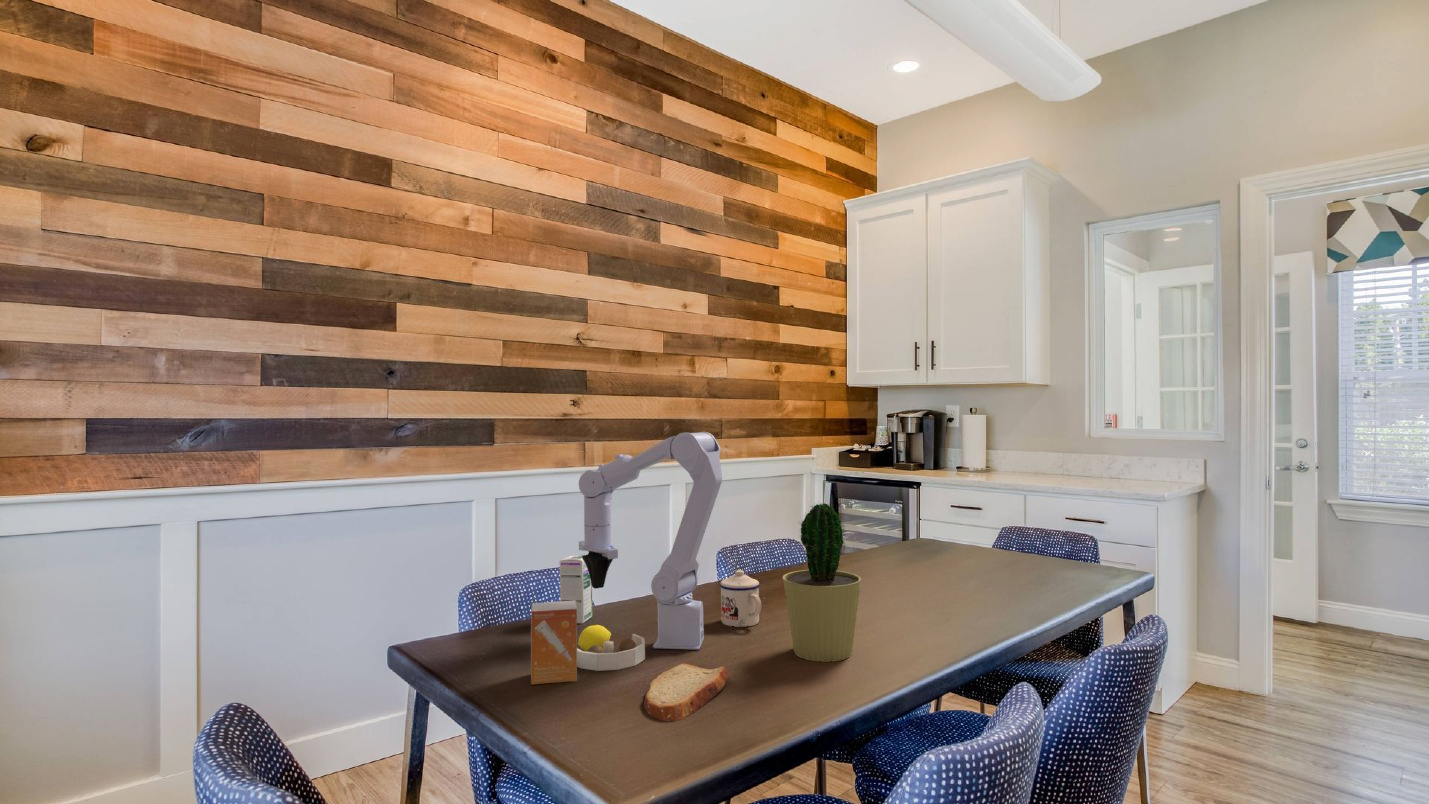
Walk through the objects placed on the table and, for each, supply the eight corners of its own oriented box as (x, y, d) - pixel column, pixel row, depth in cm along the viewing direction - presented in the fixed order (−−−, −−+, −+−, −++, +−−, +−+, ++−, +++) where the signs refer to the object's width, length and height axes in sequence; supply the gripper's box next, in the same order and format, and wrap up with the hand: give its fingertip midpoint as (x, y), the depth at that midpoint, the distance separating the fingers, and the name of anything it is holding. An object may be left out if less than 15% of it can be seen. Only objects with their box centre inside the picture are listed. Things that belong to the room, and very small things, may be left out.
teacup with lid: (712, 621, 169) (711, 570, 169) (744, 614, 174) (743, 565, 174) (743, 633, 159) (742, 579, 159) (776, 626, 164) (775, 573, 164)
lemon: (585, 661, 143) (581, 634, 143) (575, 653, 148) (571, 627, 148) (617, 650, 147) (614, 623, 147) (607, 643, 151) (603, 617, 151)
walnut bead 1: (606, 660, 142) (606, 643, 142) (601, 666, 138) (601, 648, 138) (589, 660, 142) (589, 642, 142) (584, 666, 139) (584, 648, 139)
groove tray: (657, 651, 147) (657, 636, 147) (621, 674, 134) (621, 657, 134) (605, 644, 152) (605, 630, 152) (565, 666, 139) (565, 650, 139)
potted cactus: (815, 636, 156) (813, 494, 157) (877, 651, 145) (875, 499, 146) (767, 652, 146) (765, 500, 146) (830, 671, 135) (828, 507, 135)
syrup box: (583, 623, 167) (583, 559, 168) (559, 622, 169) (559, 559, 169) (592, 617, 173) (592, 555, 173) (569, 616, 174) (568, 554, 174)
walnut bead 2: (637, 653, 146) (637, 636, 146) (634, 659, 142) (633, 641, 142) (621, 653, 146) (620, 635, 146) (616, 658, 143) (616, 641, 143)
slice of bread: (659, 726, 112) (658, 702, 112) (621, 688, 128) (621, 666, 128) (762, 706, 120) (761, 683, 120) (714, 672, 136) (714, 651, 136)
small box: (530, 685, 129) (530, 611, 129) (531, 673, 135) (531, 602, 135) (577, 681, 131) (577, 608, 131) (576, 669, 137) (575, 599, 137)
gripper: (566, 522, 164) (566, 584, 164) (596, 530, 152) (597, 596, 152) (594, 520, 168) (595, 579, 168) (626, 527, 156) (626, 591, 156)
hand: (598, 587), depth 160 cm, fingers closed
